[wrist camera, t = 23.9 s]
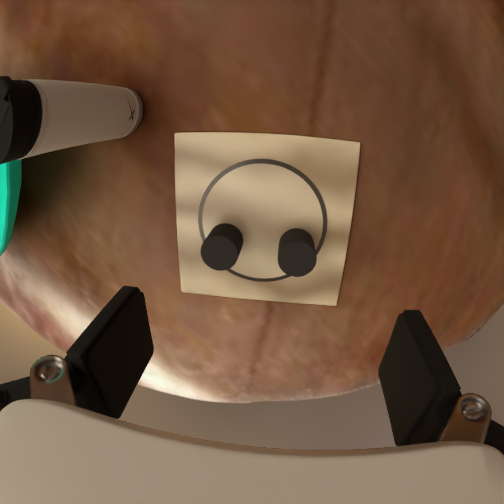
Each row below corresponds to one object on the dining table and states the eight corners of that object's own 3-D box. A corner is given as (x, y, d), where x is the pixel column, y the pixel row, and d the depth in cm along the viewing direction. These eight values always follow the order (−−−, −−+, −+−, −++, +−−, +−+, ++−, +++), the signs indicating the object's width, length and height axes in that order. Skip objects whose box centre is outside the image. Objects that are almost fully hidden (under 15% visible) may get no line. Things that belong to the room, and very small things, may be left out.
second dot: (279, 226, 34) (279, 239, 30) (315, 229, 33) (319, 242, 30) (277, 259, 35) (276, 275, 32) (311, 262, 35) (314, 278, 31)
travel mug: (156, 106, 30) (24, 105, 12) (121, 148, 32) (-10, 187, 14) (123, 75, 29) (-10, 59, 10) (92, 117, 31) (-41, 136, 13)
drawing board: (175, 132, 31) (174, 132, 31) (359, 142, 29) (360, 142, 29) (182, 290, 39) (180, 292, 39) (335, 304, 38) (336, 306, 37)
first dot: (209, 222, 34) (199, 234, 31) (243, 224, 34) (238, 237, 30) (209, 254, 36) (200, 269, 32) (242, 256, 36) (237, 272, 32)
